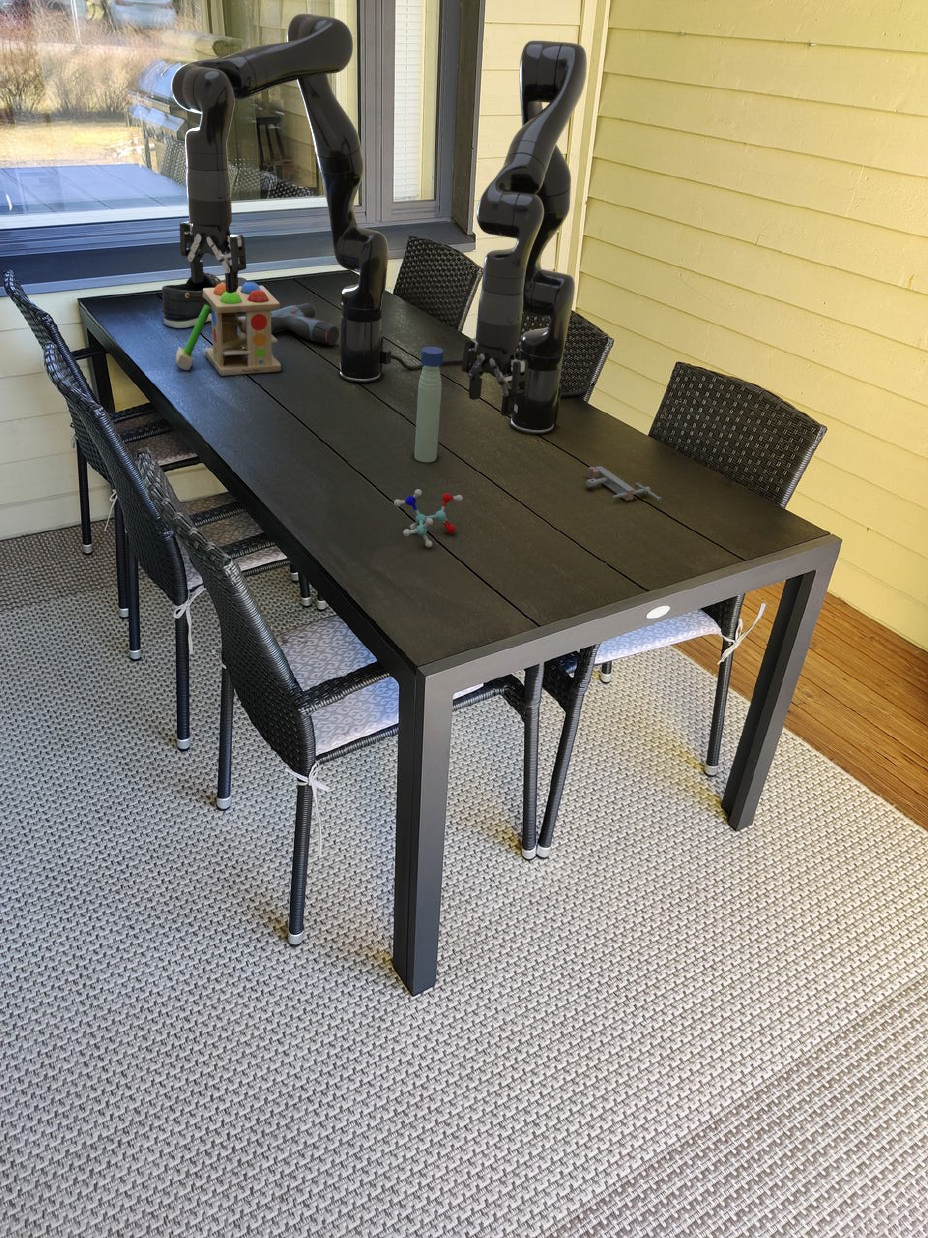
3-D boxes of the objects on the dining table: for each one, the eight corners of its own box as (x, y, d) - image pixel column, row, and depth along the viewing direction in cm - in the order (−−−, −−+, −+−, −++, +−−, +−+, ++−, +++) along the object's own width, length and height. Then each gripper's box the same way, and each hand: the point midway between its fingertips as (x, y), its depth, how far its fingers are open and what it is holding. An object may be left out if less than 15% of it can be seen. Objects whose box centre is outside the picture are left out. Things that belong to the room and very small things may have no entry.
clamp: (576, 469, 194) (616, 461, 198) (574, 479, 195) (614, 471, 199) (622, 503, 183) (664, 494, 188) (620, 513, 184) (661, 504, 189)
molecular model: (452, 541, 163) (433, 483, 162) (403, 556, 167) (383, 500, 165) (474, 530, 174) (456, 475, 172) (427, 544, 177) (409, 492, 176)
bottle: (410, 458, 197) (416, 352, 184) (420, 450, 200) (426, 346, 188) (430, 464, 195) (438, 357, 183) (440, 456, 199) (447, 351, 187)
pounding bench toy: (183, 379, 220) (176, 299, 210) (169, 357, 231) (162, 280, 221) (282, 371, 230) (280, 294, 220) (264, 350, 240) (262, 276, 230)
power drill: (365, 313, 253) (305, 296, 261) (318, 330, 240) (256, 311, 248) (364, 334, 256) (305, 316, 264) (318, 351, 243) (257, 332, 251)
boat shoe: (271, 306, 270) (269, 267, 265) (181, 330, 246) (177, 288, 241) (236, 297, 276) (233, 259, 271) (146, 320, 252) (141, 279, 247)
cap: (417, 363, 186) (418, 350, 184) (426, 357, 189) (427, 344, 188) (437, 368, 185) (437, 355, 183) (445, 362, 188) (446, 349, 186)
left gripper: (254, 199, 174) (257, 291, 183) (196, 184, 180) (201, 275, 189) (223, 204, 168) (228, 300, 177) (164, 189, 174) (172, 282, 183)
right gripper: (544, 325, 164) (532, 416, 173) (488, 301, 173) (479, 389, 182) (512, 331, 160) (501, 424, 169) (455, 307, 168) (448, 397, 177)
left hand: (214, 287), depth 183 cm, fingers open, 8 cm apart
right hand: (490, 406), depth 175 cm, fingers open, 8 cm apart
